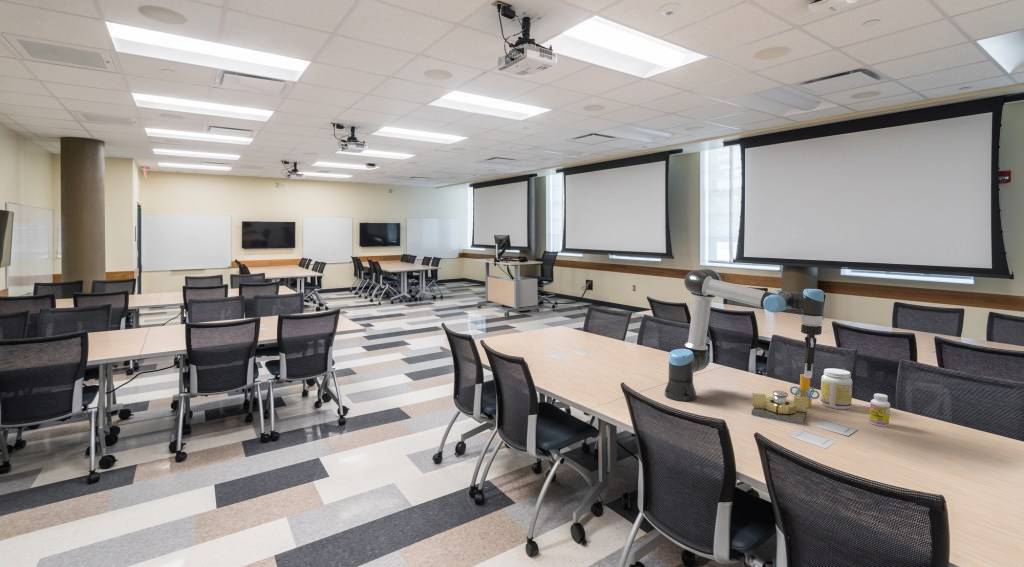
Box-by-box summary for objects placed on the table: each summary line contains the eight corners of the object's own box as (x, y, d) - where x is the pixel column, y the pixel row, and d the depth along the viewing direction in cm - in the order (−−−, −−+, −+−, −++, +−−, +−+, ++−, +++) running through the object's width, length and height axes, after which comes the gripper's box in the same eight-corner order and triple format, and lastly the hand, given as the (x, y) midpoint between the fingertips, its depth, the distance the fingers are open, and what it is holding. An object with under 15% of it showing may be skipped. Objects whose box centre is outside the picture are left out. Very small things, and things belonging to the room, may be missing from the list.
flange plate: (751, 414, 211) (752, 394, 211) (758, 403, 226) (759, 383, 225) (803, 425, 199) (804, 403, 199) (807, 412, 214) (808, 391, 213)
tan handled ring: (756, 411, 210) (756, 398, 209) (750, 401, 221) (750, 389, 221) (811, 415, 203) (812, 402, 203) (802, 406, 215) (803, 393, 215)
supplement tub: (852, 405, 222) (855, 370, 221) (848, 412, 214) (851, 376, 212) (822, 399, 231) (824, 366, 229) (817, 406, 222) (819, 371, 220)
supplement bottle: (865, 422, 202) (867, 393, 200) (874, 420, 204) (876, 391, 203) (882, 428, 195) (884, 398, 194) (892, 425, 198) (894, 396, 197)
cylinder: (821, 411, 215) (823, 379, 214) (796, 409, 217) (798, 378, 216) (810, 402, 227) (812, 372, 226) (787, 400, 229) (788, 371, 228)
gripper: (824, 328, 195) (820, 382, 197) (819, 322, 206) (816, 374, 209) (803, 326, 198) (799, 380, 201) (800, 321, 210) (796, 372, 212)
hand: (808, 377), depth 205 cm, fingers closed
